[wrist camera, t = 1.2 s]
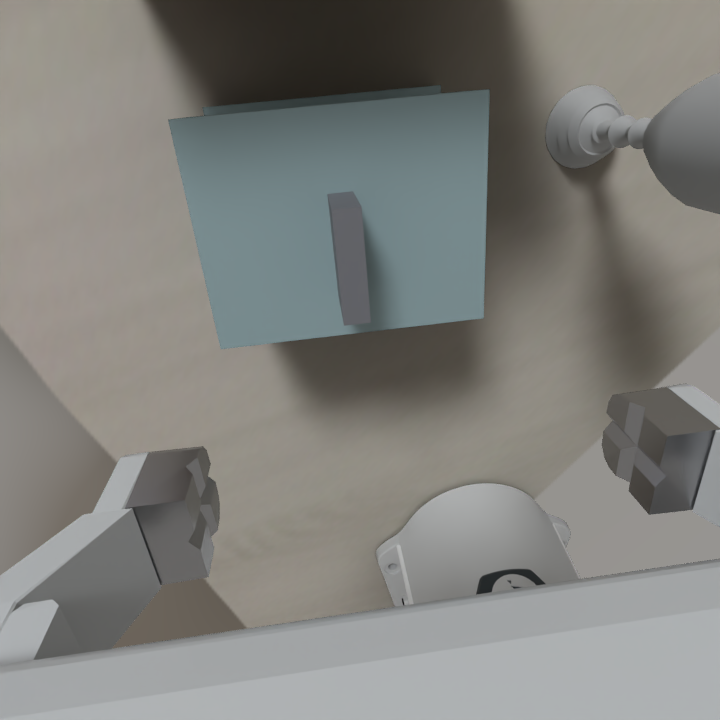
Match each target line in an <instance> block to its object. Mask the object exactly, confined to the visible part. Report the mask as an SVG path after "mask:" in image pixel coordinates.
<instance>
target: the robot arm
mask: <svg viewBox="0 0 720 720" xmlns="http://www.w3.org/2000/svg"><path fill="white" fill-rule="evenodd" d="M607 414H608V415H609V417H610V418H611V420H612V422H611V423H610V424H609V425H608V426H607V428H606V429H605V430H604V431H603V439H602V448H603V453H604V458H605V460H606V462H607V464H608V466H609V468H610V469H611V470H612V471H613V473H614V474H615V475H616V476H618V477H620V478H622V479H624V480H626V481H629V482H630V485H629V492H630V493H631V494H632V495H633V496H634V498H635V499H636V500H637V501H638V502H639V503H640V505H641V506H642V507H643V508H644V509H645V510H646V512H647V513H648V514H659V513H668V512H676V511H685V510H693V512H694V513H696V514H697V515H699V516H701V517H703V518H704V519H706V520H708V521H710V522H711V523H713V524H715V525H717V526H718V527H720V404H718V403H717V402H716V401H714V400H713V399H711V398H710V397H709V396H707V395H706V394H704V393H703V392H702V391H700V390H699V389H697V388H696V387H695V386H692V385H689V384H680V385H674V386H667V387H661V388H657V389H650V390H643V391H636V392H629V393H622V394H615V395H612V397H611V399H610V400H609V402H608V407H607ZM210 465H211V463H210V460H209V457H208V453H207V450H206V449H205V448H204V447H203V446H201V447H192V448H182V449H173V450H163V451H154V452H145V453H137V454H130V455H125V456H123V457H121V458H120V459H119V461H118V463H117V465H116V467H115V469H114V471H113V473H112V475H111V477H110V479H109V481H108V483H107V485H106V487H105V489H104V491H103V493H102V495H101V497H100V499H99V501H98V503H97V505H96V507H95V509H94V511H93V513H92V514H85V515H83V516H81V517H80V518H78V519H77V520H76V521H74V522H73V523H72V524H70V525H69V526H68V527H66V528H65V529H63V530H62V531H61V532H59V533H58V534H57V535H55V536H54V537H52V538H51V539H50V540H48V541H47V542H46V543H44V544H43V545H42V546H40V547H39V548H38V549H36V550H35V551H34V552H32V553H31V554H29V555H28V556H27V557H25V558H24V559H22V560H21V561H20V562H18V563H17V564H16V565H14V566H13V567H12V568H10V569H9V570H7V571H6V572H5V573H3V574H2V575H1V576H0V720H720V559H714V560H707V561H700V562H693V563H686V564H680V565H673V566H666V567H660V568H652V569H646V570H639V571H632V572H625V573H619V574H612V575H605V576H598V577H591V578H584V579H581V578H580V576H579V574H578V572H577V570H576V568H575V566H574V564H573V561H572V559H571V557H570V555H569V553H568V551H567V549H566V546H567V543H568V541H569V538H570V535H571V532H570V529H569V527H568V525H567V523H566V522H565V521H564V520H562V519H560V518H558V517H555V516H553V515H550V514H547V513H546V512H545V511H543V510H542V509H541V507H540V506H539V505H538V504H537V503H536V501H535V500H534V499H533V498H531V497H530V496H529V495H527V494H526V493H524V492H522V491H521V490H518V489H516V488H513V487H510V486H506V485H501V484H492V483H483V484H472V485H467V486H462V487H459V488H455V489H453V490H450V491H447V492H445V493H443V494H441V495H439V496H437V497H435V498H434V499H432V500H430V501H429V502H427V503H426V504H425V505H424V506H422V507H421V508H420V509H419V510H418V511H417V512H416V513H415V514H414V515H413V516H412V517H411V518H410V520H409V521H408V523H407V524H406V525H405V527H404V528H403V529H402V530H401V531H400V532H399V533H398V534H397V535H395V536H394V537H392V538H390V539H389V540H387V541H386V542H384V543H383V544H382V545H381V546H380V547H379V548H378V549H377V551H376V557H377V561H378V564H379V567H380V569H381V572H382V574H383V577H384V580H385V582H386V585H387V587H388V590H389V593H390V595H391V598H392V600H393V603H394V606H395V607H390V608H383V609H376V610H369V611H363V612H356V613H349V614H342V615H336V616H329V617H322V618H315V619H309V620H302V621H295V622H288V623H282V624H275V625H268V626H261V627H255V628H248V629H241V630H235V631H228V632H221V633H214V634H207V635H201V636H194V637H187V638H180V639H174V640H167V641H160V642H153V643H147V644H140V645H133V646H126V647H120V648H113V649H111V648H112V647H113V646H114V645H115V644H116V642H117V641H118V640H119V639H120V637H121V636H122V635H123V634H124V633H125V631H126V630H127V629H128V628H129V626H130V625H131V624H132V623H133V621H134V620H135V619H136V618H137V617H138V616H139V614H140V613H141V612H142V610H143V609H144V608H145V607H146V606H147V605H148V603H149V602H150V601H151V600H152V598H153V597H154V596H155V595H156V594H157V592H158V591H159V590H160V589H161V585H164V584H170V583H176V582H182V581H188V580H194V579H199V578H205V577H209V572H210V567H211V562H212V557H213V552H214V546H213V542H212V539H211V536H212V535H213V534H214V533H215V532H216V531H217V530H218V525H219V519H220V503H219V495H218V490H217V486H216V482H215V481H214V480H212V479H211V478H210V477H208V473H209V469H210ZM392 563H393V564H392Z"/></svg>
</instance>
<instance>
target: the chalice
mask: <svg viewBox="0 0 720 720" xmlns="http://www.w3.org/2000/svg"><path fill="white" fill-rule="evenodd" d="M546 142H547V147H548V150H549V152H550V154H551V155H552V157H553V158H554V160H556V161H557V162H558V163H560V164H561V165H562V166H566V167H569V168H584V167H587V166H589V165H591V164H594V163H596V162H597V161H598V160H600V159H602V158H603V157H605V156H606V155H608V154H609V153H610V152H611V151H613V150H614V148H615V147H617V148H624V147H626V146H628V145H631V146H632V147H633V148H636V149H644V153H645V155H646V158H647V160H648V162H649V165H650V167H651V169H652V171H653V172H654V174H655V176H656V177H657V179H658V180H659V181H660V182H661V184H662V185H663V186H664V187H665V188H666V189H667V190H668V191H669V192H670V193H671V195H673V196H674V197H675V198H677V199H678V200H680V201H681V202H682V203H684V204H685V205H687V206H691V207H695V208H698V209H702V210H706V211H709V212H713V213H717V214H720V72H719V73H717V74H714V75H712V76H710V77H708V78H706V79H705V80H703V81H701V82H699V83H698V84H696V85H694V86H692V87H691V88H689V89H687V90H686V91H684V92H683V93H682V94H680V95H679V96H678V97H676V98H675V99H674V100H672V101H671V102H670V103H669V104H668V105H667V106H665V107H664V108H663V109H662V110H661V111H660V112H659V113H658V114H657V115H655V116H654V118H653V119H650V118H641V119H639V120H637V121H636V119H635V118H634V117H632V116H629V115H625V116H624V112H623V110H622V108H621V106H620V104H618V102H617V100H615V98H614V96H613V95H612V94H611V93H609V92H608V91H607V90H606V89H605V88H602V87H598V86H595V85H589V86H581V87H578V88H576V89H574V90H572V91H569V92H568V93H567V94H566V95H565V96H564V97H562V98H561V99H560V100H559V101H558V103H557V104H556V106H555V107H554V109H553V110H552V111H551V114H550V117H549V119H548V122H547V126H546Z"/></svg>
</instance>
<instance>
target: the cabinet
mask: <svg viewBox="0 0 720 720" xmlns="http://www.w3.org/2000/svg"><path fill="white" fill-rule="evenodd" d="M489 96H490V89H485V90H471V91H460V92H449V93H441V85H436V86H426V87H415V88H404V89H394V90H383V91H372V92H362V93H351V94H341V95H330V96H319V97H309V98H298V99H287V100H277V101H266V102H256V103H245V104H234V105H224V106H213V107H203V112H204V116H197V117H186V118H178V119H170V120H168V121H169V125H170V130H171V134H172V138H173V143H174V147H175V152H176V156H177V160H178V165H179V169H180V173H181V178H182V182H183V186H184V191H185V195H186V200H187V204H188V208H189V213H190V217H191V221H192V226H193V230H194V234H195V239H196V243H197V247H198V252H199V256H200V261H201V265H202V269H203V274H204V278H205V282H206V287H207V291H208V295H209V300H210V304H211V309H212V313H213V317H214V322H215V326H216V330H217V335H218V339H219V343H220V348H221V349H227V348H235V347H244V346H252V345H261V344H269V343H278V342H286V341H295V340H303V339H312V338H320V337H329V336H337V335H346V334H354V333H363V332H371V331H380V330H388V329H397V328H405V327H414V326H422V325H431V324H439V323H448V322H456V321H465V320H473V319H482V318H484V286H485V248H486V210H487V172H488V134H489Z"/></svg>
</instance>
